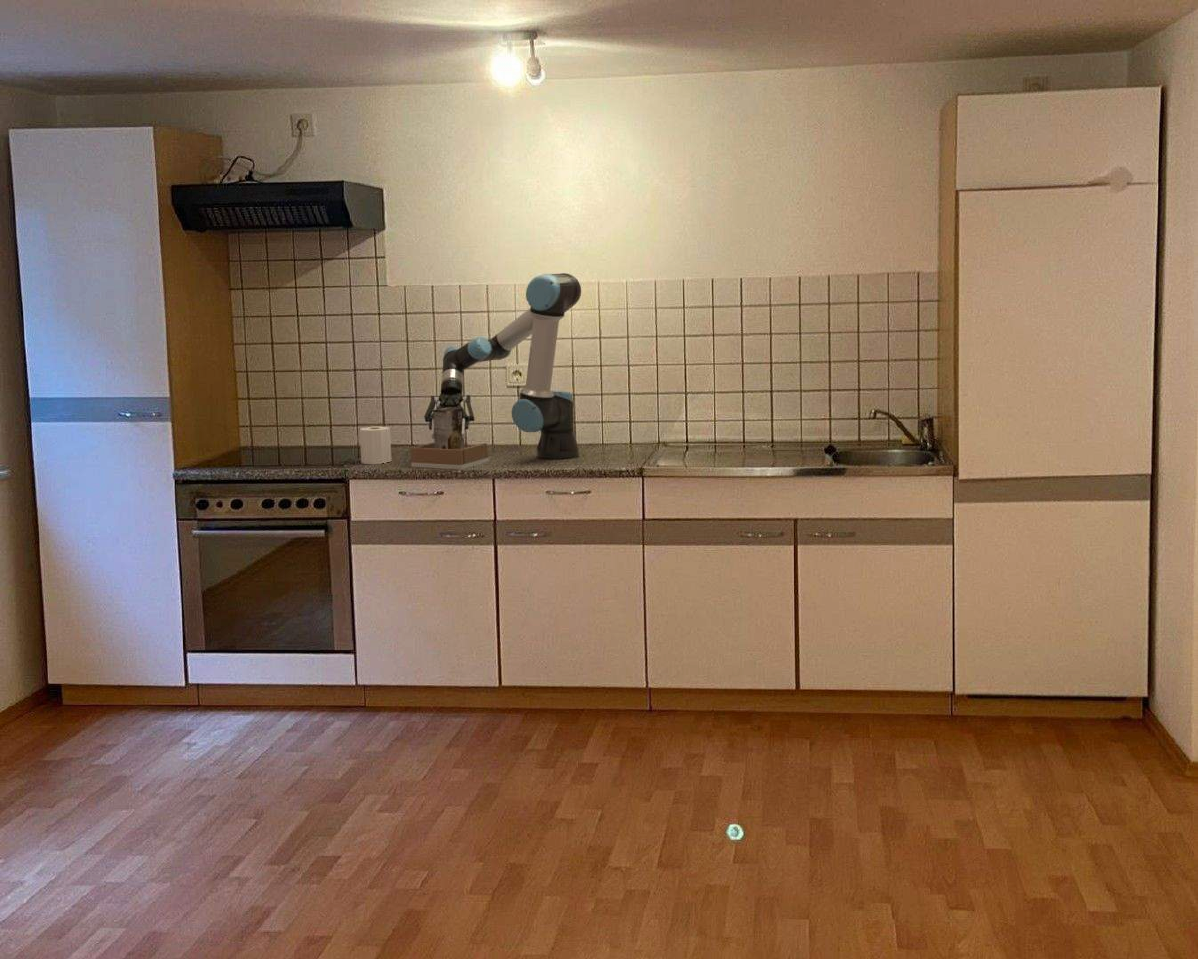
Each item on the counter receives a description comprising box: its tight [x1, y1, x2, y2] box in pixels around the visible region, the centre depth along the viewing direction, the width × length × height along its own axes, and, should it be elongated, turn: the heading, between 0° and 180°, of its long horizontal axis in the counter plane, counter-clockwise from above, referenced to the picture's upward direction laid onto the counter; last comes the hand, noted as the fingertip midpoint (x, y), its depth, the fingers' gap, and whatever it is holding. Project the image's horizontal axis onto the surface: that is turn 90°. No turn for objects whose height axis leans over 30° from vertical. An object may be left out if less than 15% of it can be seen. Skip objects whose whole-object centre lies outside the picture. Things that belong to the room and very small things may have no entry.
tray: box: [410, 442, 490, 470], centre depth 504 cm, size 20×18×6 cm
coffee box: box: [432, 407, 466, 450], centre depth 503 cm, size 9×6×16 cm
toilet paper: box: [359, 426, 392, 465], centre depth 513 cm, size 10×10×12 cm
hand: (447, 436), depth 500 cm, fingers closed on coffee box, 10 cm apart
